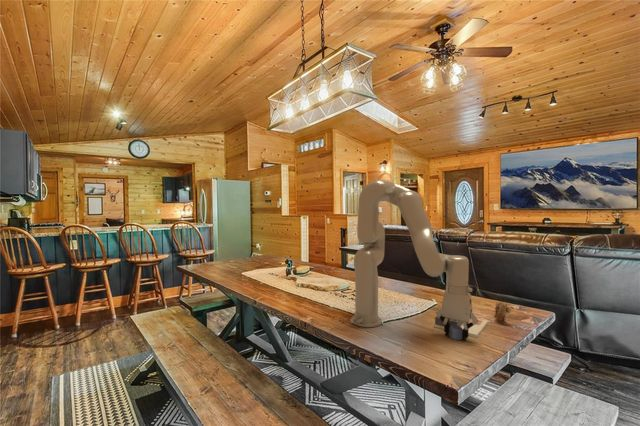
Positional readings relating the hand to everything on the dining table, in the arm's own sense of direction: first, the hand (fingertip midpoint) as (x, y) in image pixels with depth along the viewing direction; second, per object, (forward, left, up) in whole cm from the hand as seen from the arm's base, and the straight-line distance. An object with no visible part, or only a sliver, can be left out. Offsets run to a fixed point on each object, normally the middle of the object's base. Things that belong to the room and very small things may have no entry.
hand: (456, 336), depth 122 cm
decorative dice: (0, 0, -1) cm, 1 cm away
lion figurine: (+31, -9, -1) cm, 32 cm away
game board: (+14, +2, -1) cm, 14 cm away
